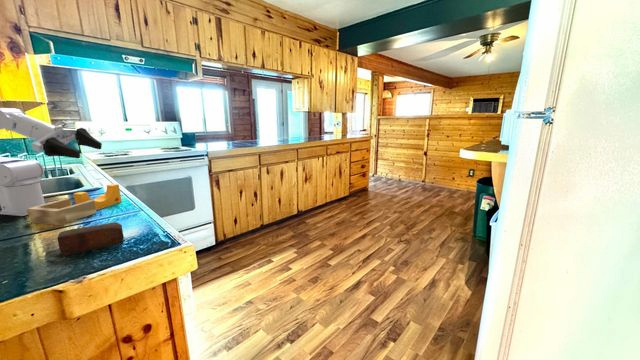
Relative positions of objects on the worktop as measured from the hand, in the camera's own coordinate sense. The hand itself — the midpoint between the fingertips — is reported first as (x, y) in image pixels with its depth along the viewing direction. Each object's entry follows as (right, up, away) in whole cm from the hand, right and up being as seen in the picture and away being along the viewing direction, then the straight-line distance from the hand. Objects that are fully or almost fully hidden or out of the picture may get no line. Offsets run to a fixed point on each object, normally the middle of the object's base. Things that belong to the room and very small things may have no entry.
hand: (90, 150), depth 76 cm
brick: (+18, -24, -18) cm, 35 cm away
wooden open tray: (-6, -20, -1) cm, 21 cm away
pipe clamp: (-4, -18, +7) cm, 20 cm away
